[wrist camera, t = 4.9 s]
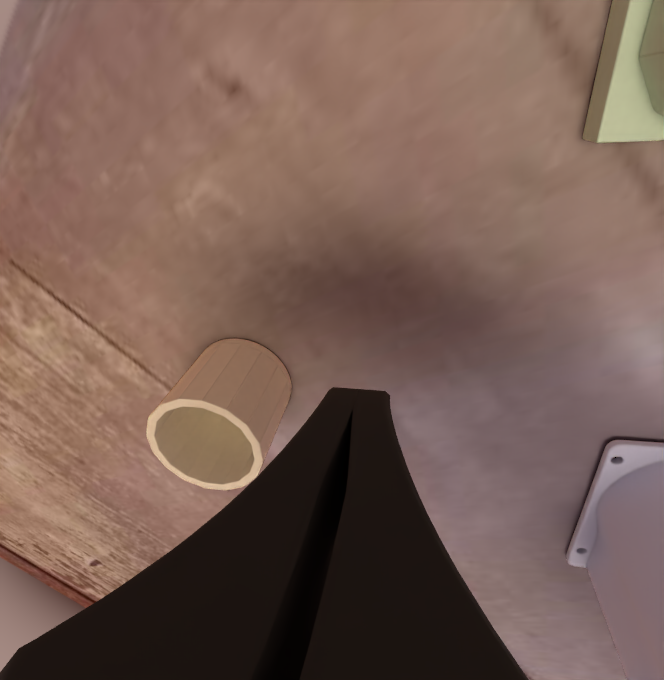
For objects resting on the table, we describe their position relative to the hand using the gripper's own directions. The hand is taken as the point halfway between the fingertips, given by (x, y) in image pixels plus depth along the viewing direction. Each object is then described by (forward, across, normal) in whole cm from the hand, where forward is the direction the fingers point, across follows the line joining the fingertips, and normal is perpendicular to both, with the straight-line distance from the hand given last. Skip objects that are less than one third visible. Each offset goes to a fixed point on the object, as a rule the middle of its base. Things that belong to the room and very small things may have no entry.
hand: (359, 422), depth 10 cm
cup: (+9, +7, +6) cm, 13 cm away
